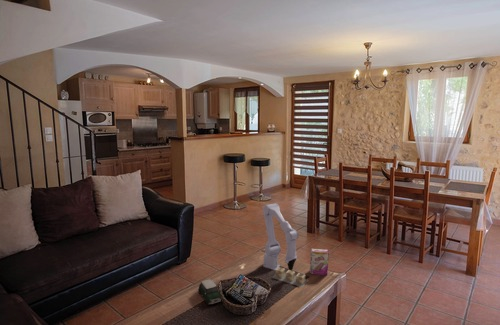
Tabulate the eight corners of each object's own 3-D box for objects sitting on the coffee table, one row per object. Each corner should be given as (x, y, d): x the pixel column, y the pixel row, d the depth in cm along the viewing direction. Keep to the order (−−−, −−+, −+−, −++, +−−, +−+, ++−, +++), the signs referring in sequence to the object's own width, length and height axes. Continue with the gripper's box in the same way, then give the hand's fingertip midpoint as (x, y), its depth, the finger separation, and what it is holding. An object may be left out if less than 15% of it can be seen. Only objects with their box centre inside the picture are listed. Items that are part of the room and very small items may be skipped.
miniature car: (208, 307, 169) (208, 294, 168) (197, 291, 185) (197, 278, 183) (223, 303, 173) (223, 289, 172) (211, 287, 189) (211, 275, 188)
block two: (295, 282, 194) (296, 275, 194) (298, 279, 198) (298, 272, 197) (302, 284, 192) (302, 277, 191) (305, 281, 196) (305, 274, 195)
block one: (275, 276, 201) (275, 269, 201) (278, 273, 205) (278, 266, 204) (281, 278, 199) (282, 271, 198) (284, 275, 203) (285, 268, 202)
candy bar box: (310, 275, 205) (311, 251, 202) (309, 271, 210) (310, 248, 207) (327, 276, 204) (328, 252, 201) (326, 272, 209) (327, 249, 206)
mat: (271, 278, 200) (271, 277, 200) (278, 271, 208) (278, 271, 208) (302, 288, 189) (302, 287, 189) (308, 280, 198) (308, 279, 198)
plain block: (285, 279, 198) (285, 272, 197) (288, 276, 202) (288, 269, 201) (292, 281, 196) (292, 274, 195) (294, 278, 199) (295, 271, 199)
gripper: (292, 255, 187) (291, 276, 189) (301, 246, 200) (300, 266, 202) (281, 252, 191) (281, 273, 193) (291, 244, 203) (290, 263, 205)
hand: (290, 269), depth 198 cm, fingers closed
